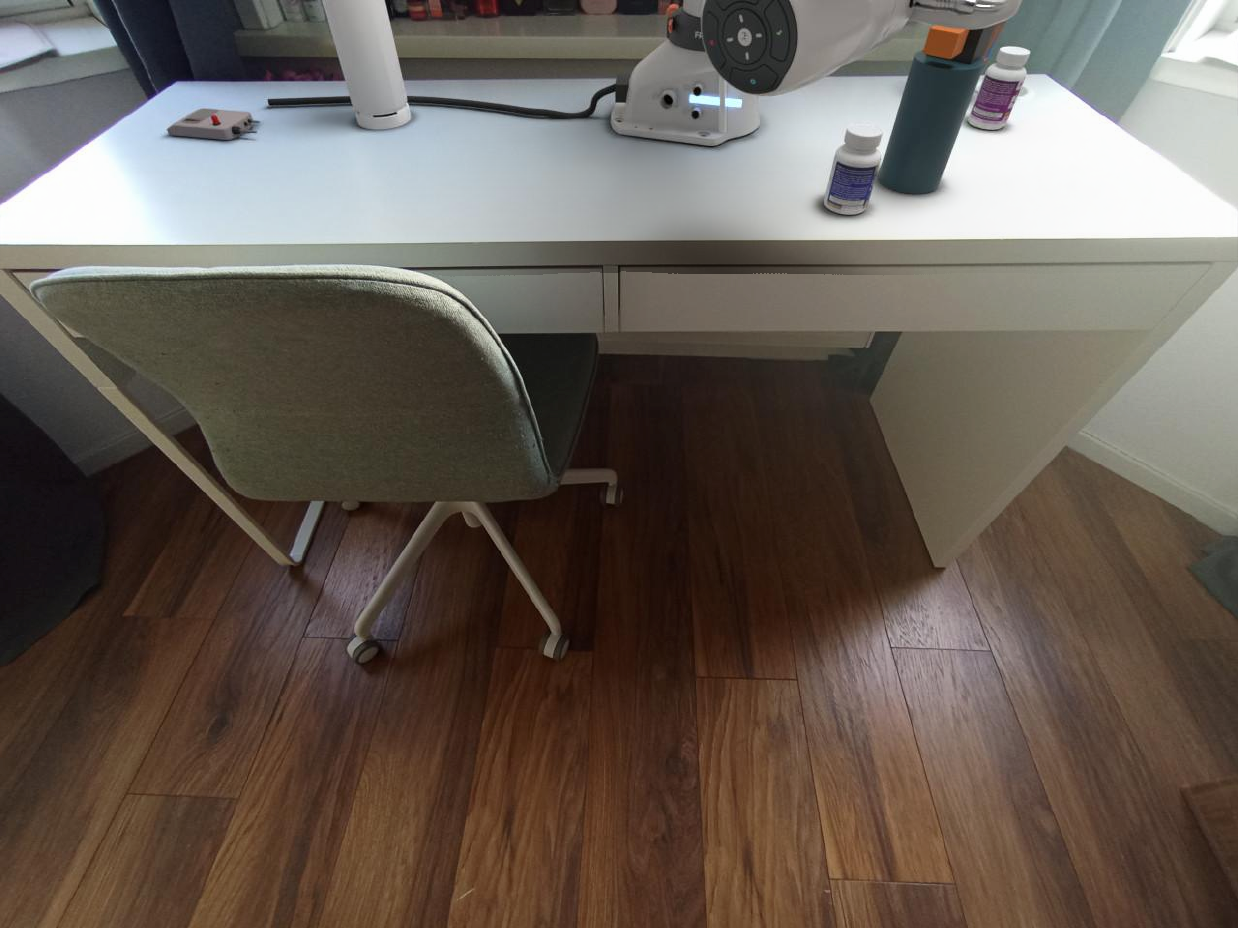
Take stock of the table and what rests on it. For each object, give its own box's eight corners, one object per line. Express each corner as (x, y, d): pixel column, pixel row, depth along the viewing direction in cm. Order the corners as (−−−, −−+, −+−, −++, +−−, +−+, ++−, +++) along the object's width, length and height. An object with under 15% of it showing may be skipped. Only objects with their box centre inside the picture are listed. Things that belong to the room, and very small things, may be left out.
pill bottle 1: (872, 215, 77) (896, 138, 70) (830, 217, 76) (850, 140, 70) (858, 195, 80) (879, 120, 74) (817, 196, 80) (835, 121, 73)
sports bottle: (924, 200, 79) (990, 20, 65) (867, 182, 83) (919, 7, 68) (947, 179, 83) (1014, 5, 69) (892, 163, 86) (946, -7, 72)
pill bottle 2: (1008, 132, 93) (1040, 57, 86) (970, 129, 94) (999, 55, 87) (1001, 118, 97) (1031, 45, 90) (964, 116, 98) (991, 43, 90)
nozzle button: (950, 59, 68) (959, 33, 66) (921, 53, 70) (929, 27, 68) (961, 52, 70) (970, 26, 68) (933, 46, 71) (941, 21, 69)
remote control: (187, 118, 98) (177, 96, 96) (279, 125, 96) (271, 104, 93) (158, 135, 93) (147, 113, 91) (253, 143, 91) (244, 121, 89)
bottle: (346, 125, 96) (269, -127, 75) (378, 106, 101) (314, -135, 80) (390, 133, 94) (324, -124, 73) (421, 113, 99) (368, -132, 78)
